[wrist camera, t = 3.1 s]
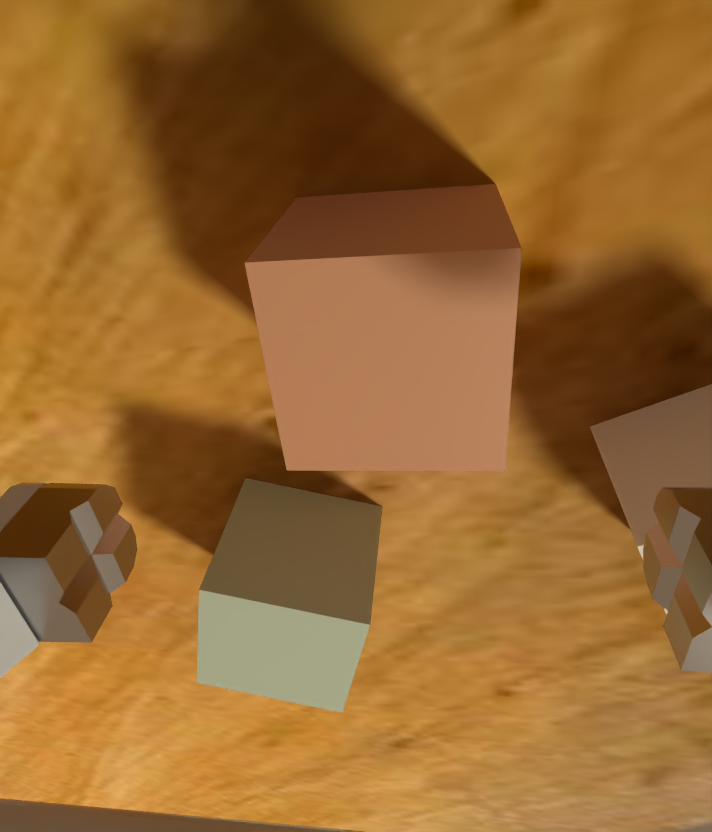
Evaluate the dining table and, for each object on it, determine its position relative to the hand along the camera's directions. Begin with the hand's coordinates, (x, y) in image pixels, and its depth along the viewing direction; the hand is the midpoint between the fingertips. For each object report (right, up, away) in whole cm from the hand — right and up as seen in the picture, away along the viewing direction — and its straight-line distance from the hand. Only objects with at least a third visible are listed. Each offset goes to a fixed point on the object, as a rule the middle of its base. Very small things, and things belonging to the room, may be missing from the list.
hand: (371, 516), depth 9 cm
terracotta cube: (+1, +5, +7) cm, 9 cm away
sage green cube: (-2, -3, +13) cm, 14 cm away
